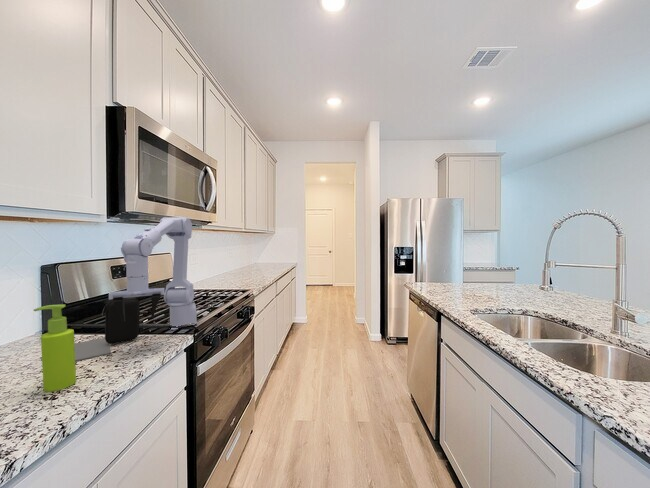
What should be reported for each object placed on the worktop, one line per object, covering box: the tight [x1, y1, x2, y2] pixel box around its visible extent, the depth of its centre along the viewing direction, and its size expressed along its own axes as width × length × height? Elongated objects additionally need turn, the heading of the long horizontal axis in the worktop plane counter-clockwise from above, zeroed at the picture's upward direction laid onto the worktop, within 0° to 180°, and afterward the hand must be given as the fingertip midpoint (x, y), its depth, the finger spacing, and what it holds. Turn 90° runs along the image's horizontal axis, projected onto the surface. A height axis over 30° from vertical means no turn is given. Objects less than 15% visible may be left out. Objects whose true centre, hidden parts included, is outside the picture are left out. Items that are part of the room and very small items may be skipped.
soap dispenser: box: [33, 303, 77, 393], centre depth 69 cm, size 6×7×20 cm
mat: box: [74, 337, 112, 363], centre depth 90 cm, size 14×18×1 cm
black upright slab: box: [101, 297, 141, 345], centre depth 97 cm, size 11×3×15 cm, turn 136°
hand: (138, 319), depth 89 cm, fingers open, 7 cm apart
